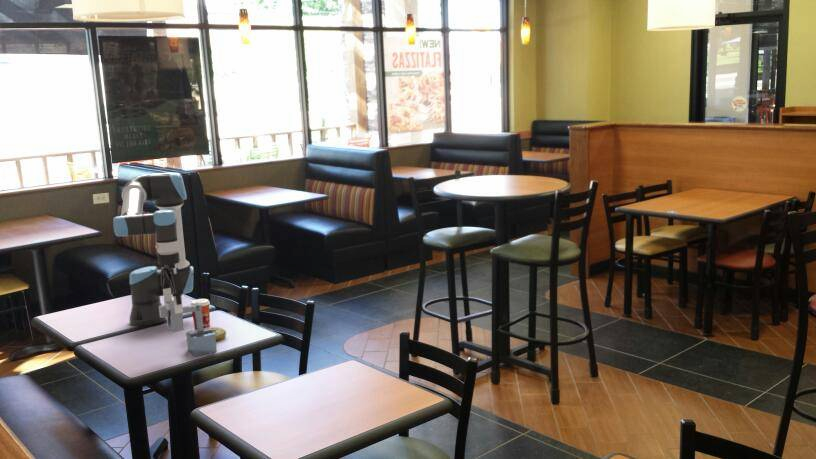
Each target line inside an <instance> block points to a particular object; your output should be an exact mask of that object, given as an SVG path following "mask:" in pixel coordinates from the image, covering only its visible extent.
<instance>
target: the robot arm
mask: <svg viewBox="0 0 816 459" xmlns="http://www.w3.org/2000/svg"><path fill="white" fill-rule="evenodd" d="M184 183H185V182H184V178H183V176H182V174H181V173H180V172H162V173H161V172H160V173H157V172H156V173H148V174H147V173H146V174H140V175H138V176H137V175H136V176H135V177H133V178H132V179H130V180H129V181H127V183H126V184H125V185H124V186H123V188H122V190H121V199H122V201H123V202H122V206H121V213H120V215H118V216H115V217H113V221H112V222H113V232H114V235H115V236H116V237H125V238H126V237H132V236H141V235H142V236H143V235H155V243H156V245H155V246H154V247H155V249H156V252H157V253H158V254H157V264H158V265H160V269H158V267H157V266H155V265H151V266H145V267H140V268H138V269H134V270H133V271H131V272H130V273H129V283H128V284H129V285H130V286H129V287H130V294H131V295H130V296H131V305H132V306H131V309H130V314H129V324H130V325H132V326H136V327H137V326H138V327H139V326H141V327H143V326H144V327H145V326H151V325H156V324H159V323H162V322H164V321H165V320H166V321H167V317H164V318H161V317H160V313H159V306H163V305H165V302H168V301H173V300H174V308H175V314H177V313H183V307H184V306H183V298H182V297H183V296H182V295H184V294H189V293H191V292H192V291H193V289H194V266H193V265H191V264H190V262H189V260H187V259H186V249H185V241H184V230H183V219H182V209H181V208H182V206H183V205H184V204H185V203H184V202H185V200H187V199H188V198H187V197H188V195H187V191H186V187H185V184H184ZM149 202H150V203H151V202H152V203H153V202H154V206H155V208H157V209H159V210H155V211H154V212H153V213H146V214H145V213H143V209H144V203H149ZM161 297H163V302H164V304H163V303H162V302H161ZM172 297H173V298H172Z"/></svg>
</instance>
